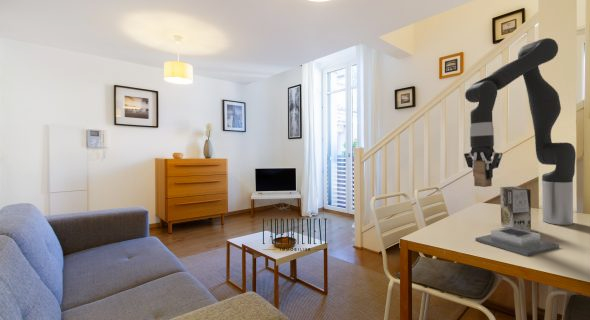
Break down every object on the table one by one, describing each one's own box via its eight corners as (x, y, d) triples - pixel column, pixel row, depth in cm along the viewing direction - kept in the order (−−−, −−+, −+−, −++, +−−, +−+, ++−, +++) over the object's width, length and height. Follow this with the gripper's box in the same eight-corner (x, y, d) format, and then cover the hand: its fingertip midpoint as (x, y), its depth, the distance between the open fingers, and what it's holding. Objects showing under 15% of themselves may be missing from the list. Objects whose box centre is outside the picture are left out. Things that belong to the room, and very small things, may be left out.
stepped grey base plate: (505, 234, 103) (505, 223, 103) (558, 247, 88) (558, 235, 88) (475, 240, 97) (475, 229, 97) (527, 256, 82) (527, 243, 82)
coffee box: (532, 231, 104) (531, 189, 104) (512, 231, 106) (512, 189, 105) (517, 225, 113) (517, 186, 113) (500, 224, 115) (499, 186, 114)
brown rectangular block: (481, 185, 109) (480, 160, 109) (491, 186, 106) (491, 160, 105) (474, 185, 108) (473, 160, 108) (484, 187, 104) (483, 160, 104)
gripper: (507, 133, 101) (508, 179, 101) (470, 135, 114) (472, 176, 115) (494, 133, 98) (495, 181, 99) (457, 136, 111) (459, 178, 112)
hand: (482, 178), depth 107 cm, fingers closed on brown rectangular block, 4 cm apart
